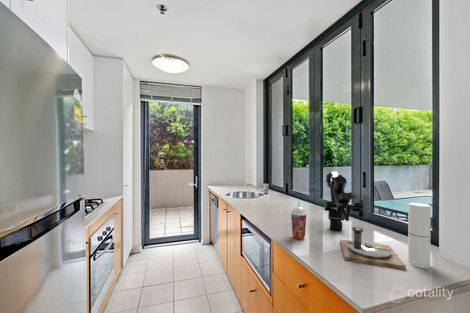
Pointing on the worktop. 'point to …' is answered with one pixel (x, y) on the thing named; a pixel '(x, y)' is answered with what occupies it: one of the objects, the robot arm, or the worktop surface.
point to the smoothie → (298, 222)
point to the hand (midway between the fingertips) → (347, 220)
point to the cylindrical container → (419, 234)
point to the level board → (387, 262)
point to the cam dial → (367, 246)
